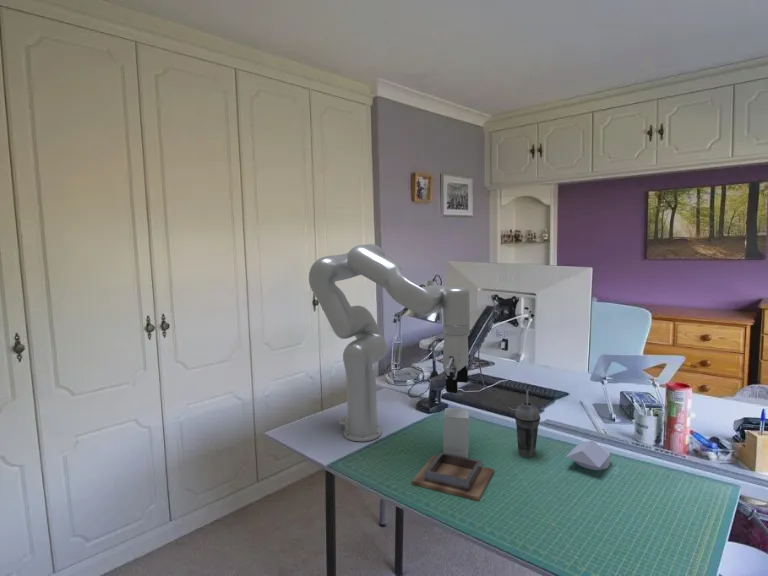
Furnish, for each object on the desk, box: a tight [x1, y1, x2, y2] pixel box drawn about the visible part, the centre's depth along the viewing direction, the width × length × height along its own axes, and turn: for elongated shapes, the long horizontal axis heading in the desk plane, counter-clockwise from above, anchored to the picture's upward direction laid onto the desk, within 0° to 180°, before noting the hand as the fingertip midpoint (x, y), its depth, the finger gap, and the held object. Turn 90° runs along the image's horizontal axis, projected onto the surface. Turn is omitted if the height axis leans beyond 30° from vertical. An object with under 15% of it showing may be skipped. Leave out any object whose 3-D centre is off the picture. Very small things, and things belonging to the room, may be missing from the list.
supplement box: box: [442, 407, 470, 458], centre depth 142 cm, size 7×7×13 cm
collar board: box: [411, 451, 495, 502], centre depth 128 cm, size 18×15×4 cm
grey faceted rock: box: [565, 439, 611, 471], centre depth 134 cm, size 9×7×13 cm
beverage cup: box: [514, 389, 541, 459], centre depth 140 cm, size 7×7×20 cm
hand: (457, 387), depth 140 cm, fingers open, 9 cm apart
